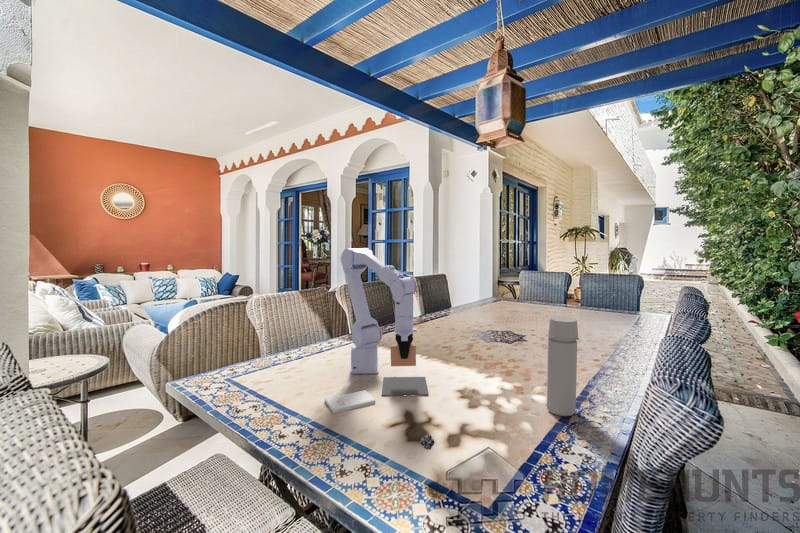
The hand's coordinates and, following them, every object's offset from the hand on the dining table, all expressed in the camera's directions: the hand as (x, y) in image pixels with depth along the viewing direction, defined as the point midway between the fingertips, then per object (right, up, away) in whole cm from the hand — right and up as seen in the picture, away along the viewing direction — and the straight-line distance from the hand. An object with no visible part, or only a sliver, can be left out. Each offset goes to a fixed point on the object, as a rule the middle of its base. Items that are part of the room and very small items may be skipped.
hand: (404, 357), depth 115 cm
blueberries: (+5, -12, -33) cm, 36 cm away
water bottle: (+42, -10, -18) cm, 47 cm away
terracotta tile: (0, -3, 0) cm, 3 cm away
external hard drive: (-16, -11, -12) cm, 23 cm away
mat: (0, -9, -1) cm, 9 cm away
